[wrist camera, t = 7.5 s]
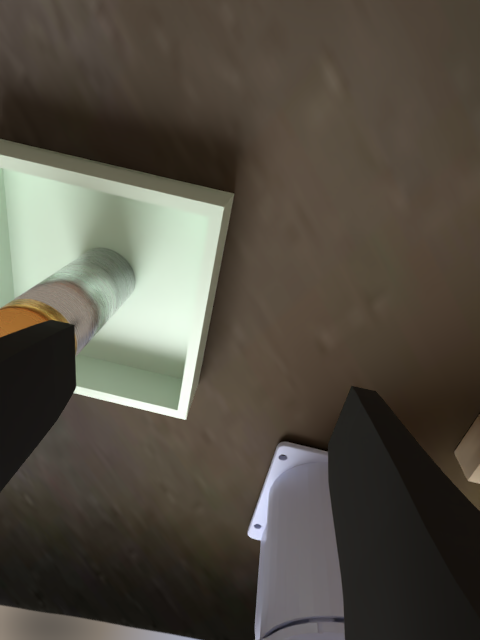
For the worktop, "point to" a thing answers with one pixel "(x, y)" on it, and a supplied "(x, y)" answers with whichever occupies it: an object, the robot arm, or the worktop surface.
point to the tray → (137, 248)
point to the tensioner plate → (470, 452)
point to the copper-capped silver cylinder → (75, 296)
